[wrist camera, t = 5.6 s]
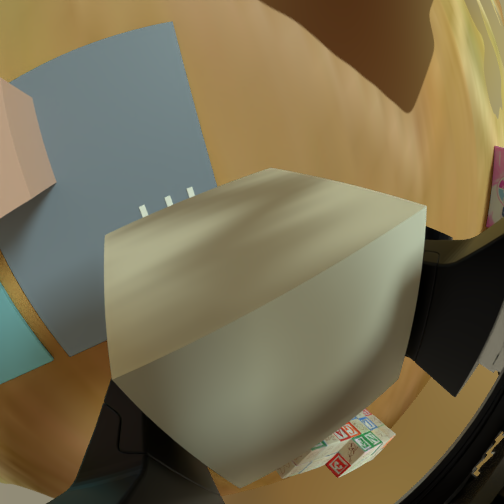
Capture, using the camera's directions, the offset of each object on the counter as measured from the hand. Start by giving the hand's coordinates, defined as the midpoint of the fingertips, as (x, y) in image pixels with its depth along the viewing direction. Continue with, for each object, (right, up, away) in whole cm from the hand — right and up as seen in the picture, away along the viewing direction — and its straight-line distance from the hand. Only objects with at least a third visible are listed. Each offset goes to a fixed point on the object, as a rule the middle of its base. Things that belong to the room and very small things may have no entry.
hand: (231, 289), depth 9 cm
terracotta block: (-15, +7, +2) cm, 16 cm away
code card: (-9, +5, +6) cm, 12 cm away
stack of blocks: (+9, -23, +29) cm, 38 cm away
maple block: (-1, 0, +1) cm, 1 cm away
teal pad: (-20, -5, +4) cm, 21 cm away
